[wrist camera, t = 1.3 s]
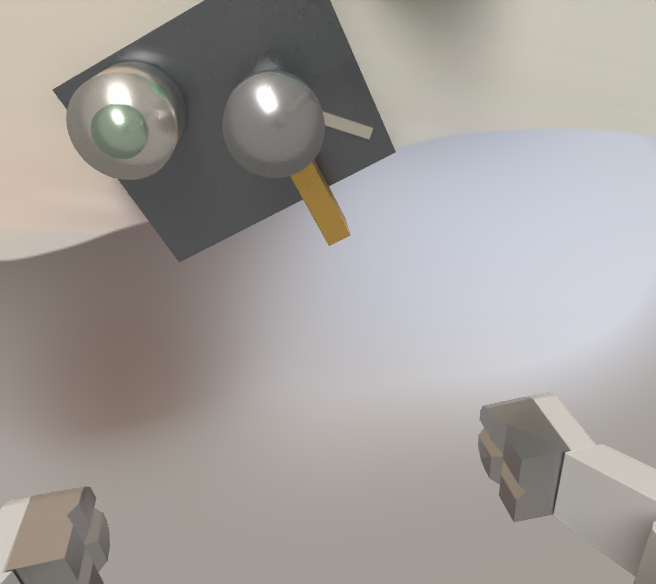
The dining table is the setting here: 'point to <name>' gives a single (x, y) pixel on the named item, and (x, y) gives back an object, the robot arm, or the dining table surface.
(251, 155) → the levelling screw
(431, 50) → the dining table surface
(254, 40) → the base
